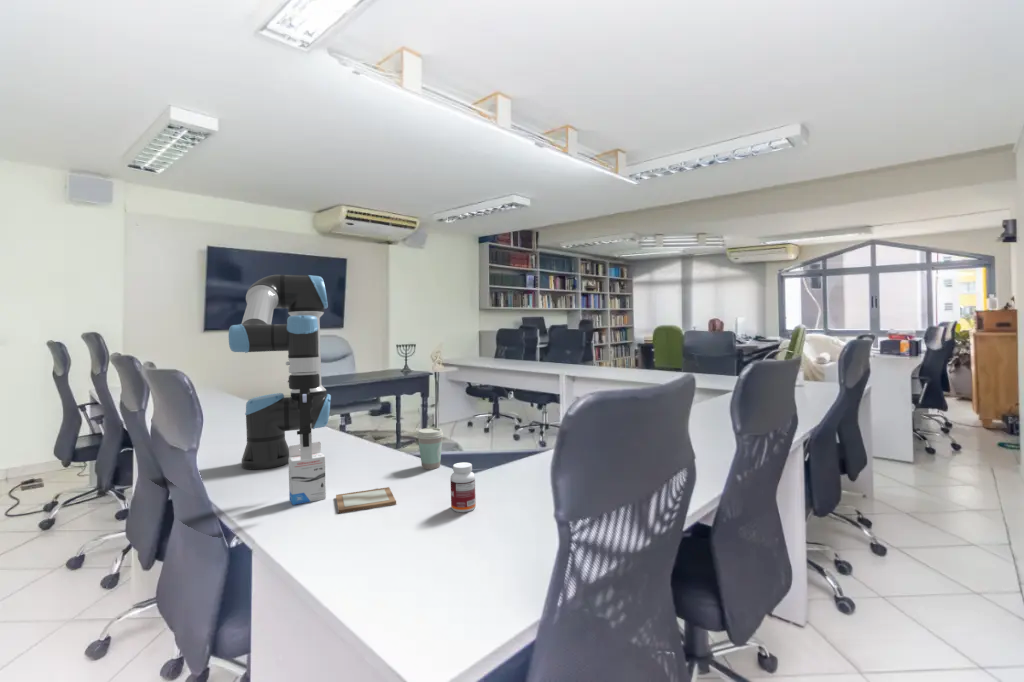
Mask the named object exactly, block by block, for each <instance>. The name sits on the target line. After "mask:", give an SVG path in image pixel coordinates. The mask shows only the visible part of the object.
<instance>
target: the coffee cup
mask: <svg viewBox="0 0 1024 682" xmlns="http://www.w3.org/2000/svg"><path fill="white" fill-rule="evenodd" d="M443 437H444V433H443V429H442V428H440V427H426V428H421V429H419V430H418V431H417V435H416V438H417V440H418V448H419V455H420V462H421V468H422V469H423V470H424V469H425V470H434V469H439V468H440V467H441V459H442V447H443V446H442V445H443Z"/></svg>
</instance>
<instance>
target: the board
mask: <svg viewBox="0 0 1024 682" xmlns="http://www.w3.org/2000/svg"><path fill="white" fill-rule="evenodd" d="M335 499H336V505H337V511H338V514H344V513H345V514H346V513H351V512H357V511H362V510H370V509H375V508H383V507H388V506H395V505H397V500H396V498H395V496H394V495H393V492H392V491H391V488H390V486H386V487H380V488H374V489H368V490H359V491H353V492H347V493H340V494H336V495H335Z"/></svg>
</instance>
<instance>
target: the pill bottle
mask: <svg viewBox="0 0 1024 682" xmlns="http://www.w3.org/2000/svg"><path fill="white" fill-rule="evenodd" d="M452 472H453V473H451V475H450V506H451V509H452V510H453V511H454V512H456V513H466V512H467V513H468V512H471V511H473V510H474V509H476V506H477V505H476V504H477V503H476V501H477V499H476V498H477V497H476V476H475V473H474V472H473V464H472V463H470V462H457V463H454V464H453V465H452Z"/></svg>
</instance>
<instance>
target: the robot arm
mask: <svg viewBox="0 0 1024 682" xmlns="http://www.w3.org/2000/svg"><path fill="white" fill-rule="evenodd" d="M324 281H325V280H324V279H323V277H322V276H319V275H311V274H304V275H303V274H273V275H267V276H265V277H262V278H260V279H259V280H257V281H255V282H254V283H252V285H250V286H249V288H248V289H247V291H246V295H245V302H246V306H245V310H244V314H243V317H242V321H241V323H238V324H232V325H230V327H229V329H228V346H229V349H230V351H231V352H233V353H245V354H246V353H247V354H248V353H258V352H259V353H262V352H263V353H264V352H287V353H288V355H287V358H288V359H287V360H288V361H285V366H288V373H289V376H288V388H289V389H290V396H287V397H285V395H284V393H281V392H278V393H269V394H265V395H261V396H260V395H259V396H256V397H253V398H250V399H249V400H248V401H247V402H246V404H245V413H244V415H245V421H246V422H245V424H246V425H245V426H246V444H245V445H246V446H245V448H244V452H243V455H242V457H241V468H242V469H246V470H265V469H272V468H278V467H281V466H284V465H287V464H289V445H288V442H287V439H286V432H290V431H296V435H297V436H298V435H299V444H300V449H299V450H300V458H301V460H305V459H312V443H313V441H312V440H313V438H312V430H315V429H320V428H322V429H323V428H325V427H326V426H327V425H328V423H329V417H330V410H331V400H332V395H331V394H329V393H327V389H326V388H325V387H324V386H323V385H322V360H321V359H322V358H321V357H322V355H321V353H322V351H321V327H320V326H321V325H320V324H321V323H320V320H321V317H322V316H323V315H324V314H325V310H327V308H328V307H329V304H328V297H327V290H326V286H325V282H324ZM276 309H287V314H288V315H289V316H288V317H287V319H286V322H287V323H283V324H282V323H281V324H280V323H279V324H273V323H272V321H273V316H274V310H276Z"/></svg>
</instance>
